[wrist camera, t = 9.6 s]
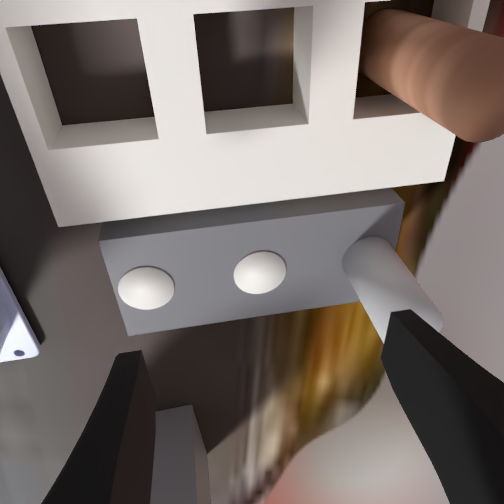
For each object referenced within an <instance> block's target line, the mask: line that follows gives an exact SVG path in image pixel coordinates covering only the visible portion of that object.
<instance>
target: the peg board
mask: <svg viewBox="0 0 504 504" xmlns="http://www.w3.org/2000/svg"><path fill="white" fill-rule="evenodd" d="M375 1H389V0H0V74H1V77H2V79H3V82H4V84H5V87H6V90H7V92H8V95H9V98H10V100H11V103H12V106H13V108H14V111H15V114H16V116H17V119H18V121H19V124H20V127H21V129H22V132H23V135H24V137H25V140H26V143H27V145H28V148H29V151H30V153H31V156H32V158H33V161H34V164H35V166H36V169H37V172H38V174H39V177H40V180H41V182H42V185H43V188H44V190H45V193H46V196H47V198H48V201H49V203H50V206H51V209H52V211H53V214H54V217H55V219H56V222H57V225H58V227H65V226H73V225H82V224H90V223H98V222H107V221H115V220H123V219H132V218H140V217H148V216H157V215H165V214H173V213H182V212H190V211H199V210H207V209H215V208H224V207H232V206H240V205H249V204H257V203H265V202H274V201H282V200H290V199H299V198H307V197H315V196H324V195H332V194H340V193H349V192H357V191H365V190H374V189H382V188H390V187H399V186H407V185H415V184H424V183H432V182H440V181H444V179H445V175H446V171H447V167H448V163H449V159H450V156H451V152H452V148H453V144H454V140H455V136H456V135H455V134H453V133H452V132H450V131H448V130H447V129H445V128H444V127H442V126H441V125H439V124H438V123H436V122H435V121H433V120H432V119H430V118H428V117H427V116H425V115H424V114H422V113H421V112H419V111H418V110H416V109H415V108H413V107H411V106H410V105H408V104H407V103H405V102H404V101H402V100H401V99H399V98H398V97H396V96H394V95H393V94H388V95H378V96H367V97H357V98H355V94H356V85H357V75H358V65H359V55H360V46H361V36H362V26H363V16H364V7H365V2H375ZM489 3H490V0H434V4H433V9H432V14H431V18H433V19H436V20H440V21H444V22H447V23H451V24H455V25H458V26H462V27H466V28H469V29H473V30H477V31H480V32H482V30H483V27H484V23H485V19H486V15H487V11H488V7H489ZM289 7H294V47H293V104H283V105H272V106H262V107H251V108H241V109H230V110H220V111H209V112H204V108H203V99H202V90H201V81H200V72H199V62H198V53H197V44H196V35H195V26H194V17H193V14H204V13H218V12H232V11H246V10H261V9H275V8H289ZM132 18H137V21H138V27H139V32H140V38H141V44H142V49H143V55H144V60H145V66H146V71H147V77H148V82H149V88H150V93H151V99H152V104H153V110H154V115H155V117H146V118H136V119H125V120H115V121H104V122H94V123H83V124H73V125H62V123H61V120H60V117H59V114H58V110H57V107H56V104H55V101H54V98H53V95H52V91H51V88H50V85H49V82H48V79H47V76H46V72H45V69H44V66H43V63H42V60H41V57H40V54H39V50H38V47H37V44H36V41H35V38H34V35H33V31H32V28H31V26H33V25H47V24H61V23H75V22H90V21H104V20H118V19H132Z"/></svg>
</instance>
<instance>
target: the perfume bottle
mask: <svg viewBox="0 0 504 504" xmlns="http://www.w3.org/2000/svg"><path fill="white" fill-rule="evenodd" d="M155 414H156V436H155V450H154V462H153V474H152V487H151V499H150V504H211V498H210V485H209V473H208V460H207V453H206V450H205V446H204V443H203V440H202V436H201V433H200V430H199V427H198V423H197V420H196V417H195V413H194V410H193V407H192V404H191V405H186V406H181V407H176V408H171V409H166V410H161V411H156V412H155Z"/></svg>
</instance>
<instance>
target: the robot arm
mask: <svg viewBox="0 0 504 504" xmlns="http://www.w3.org/2000/svg"><path fill="white" fill-rule="evenodd" d="M40 348H41V347H40V344H39V342H38V340H37V338H36V336H35V334H34V332H33V330H32V328H31V326H30V324H29V322H28V320H27V318H26V317H25V315H24V313H23V311H22V309H21V307H20V305H19V303H18V301H17V299H16V297H15V295H14V293H13V291H12V289H11V287H10V285H9V283H8V281H7V279H6V277H5V275H4V274H3V272H2V270H1V268H0V362H4V361H10V360H17V359H24V358H30V357H35V356H37V355H38V354H39V352H40ZM20 350H22V351H20ZM381 359H382V362H383V365H384V368H385V370H386V373H387V376H388V378H389V380H390V383H391V386H392V388H393V390H394V392H395V394H396V396H397V398H398V400H399V402H400V404H401V406H402V408H403V410H404V412H405V413H406V415H407V417H408V419H409V421H410V423H411V425H412V427H413V428H414V430H415V432H416V434H417V436H418V438H419V440H420V441H421V443H422V445H423V447H424V449H425V451H426V453H427V455H428V456H429V458H430V460H431V462H432V464H433V466H434V468H435V470H436V472H437V474H438V476H439V479H440V481H441V483H442V486H443V488H444V490H445V493H446V495H447V498H448V500H449V502H450V504H504V383H503V382H502V381H500V380H499V379H498V378H496V377H495V376H493V375H492V374H491V373H489V372H488V371H487V370H485V369H484V368H482V367H481V366H480V365H478V364H477V363H476V362H475V361H474V360H472V359H471V358H469V357H468V356H467V355H466V354H465V353H463V352H462V351H461V350H460V349H458V348H457V347H456V346H455V345H453V344H452V343H451V342H450V341H449V340H447V339H446V338H445V337H444V336H442V335H441V334H440V333H439V332H438V331H436V330H435V329H434V328H433V327H432V326H431V325H429V324H428V323H427V322H426V321H425V320H423V319H422V318H421V317H420V316H419V315H417V314H416V313H415V312H414V311H412V310H411V309H407V310H401V311H394V312H391V314H390V318H389V323H388V327H387V332H386V337H385V341H384V346H383V350H382V355H381ZM155 436H156V414H155V394H154V390H153V387H152V384H151V380H150V377H149V374H148V370H147V367H146V364H145V360H144V357H143V354H142V350H139V351H133V352H126V353H120V354H118V355H117V356H116V357H115V360H114V363H113V366H112V368H111V371H110V373H109V376H108V378H107V381H106V383H105V386H104V388H103V390H102V392H101V395H100V397H99V399H98V401H97V404H96V406H95V408H94V410H93V412H92V414H91V416H90V418H89V420H88V422H87V424H86V426H85V428H84V430H83V432H82V434H81V436H80V438H79V440H78V442H77V444H76V445H75V447H74V449H73V451H72V453H71V455H70V456H69V458H68V460H67V462H66V464H65V466H64V467H63V469H62V471H61V472H60V474H59V476H58V478H57V479H56V481H55V483H54V484H53V486H52V488H51V489H50V491H49V492H48V494H47V496H46V497H45V499H44V500H43V502H42V503H41V504H150V499H151V487H152V474H153V462H154V450H155Z"/></svg>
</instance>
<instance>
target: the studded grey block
mask: <svg viewBox="0 0 504 504" xmlns="http://www.w3.org/2000/svg"><path fill="white" fill-rule="evenodd" d="M404 206H405V202H404V201H403V200H402V199H401V198H400V197H399V196H398V194H397V193H396V192H395V191H394V190H393V189H392V188H387V189H379V190H371V191H362V192H354V193H346V194H337V195H329V196H321V197H312V198H304V199H296V200H287V201H279V202H271V203H262V204H254V205H246V206H237V207H229V208H221V209H212V210H204V211H196V212H187V213H179V214H171V215H162V216H154V217H146V218H137V219H129V220H121V221H112V222H104V223H102V227H101V231H100V235H99V240H98V242H99V245H100V248H101V251H102V255H103V258H104V261H105V264H106V267H107V270H108V273H109V277H110V280H111V283H112V286H113V289H114V292H115V295H116V299H117V302H118V305H119V308H120V311H121V314H122V317H123V321H124V324H125V327H126V330H127V333H128V336H131V335H138V334H144V333H151V332H158V331H165V330H171V329H178V328H185V327H191V326H198V325H205V324H212V323H218V322H225V321H232V320H238V319H245V318H252V317H259V316H265V315H272V314H279V313H285V312H292V311H299V310H306V309H312V308H319V307H326V306H332V305H339V304H346V303H353V302H359V301H361V303H362V305H363V306H364V308H365V310H366V312H367V314H368V316H369V317H370V319H371V321H372V323H373V325H374V327H375V328H376V330H377V332H378V334H379V336H380V338H381V339H382V341H383V343H384V341H385V337H386V332H387V327H388V323H389V318H390V314H391V312H394V311H401V310H407V309H411V310H412V311H414V312H415V313H416V314H417V315H419V316H420V317H421V318H422V319H423V320H425V321H426V322H427V323H428V324H429V325H431V326H432V327H433V328H434V329H435V330H436V331H438V332H440V330H441V328H442V326H443V316H442V314H441V312H440V311H439V310H438V308H437V307H436V306H435V304H434V303H433V302H432V301H431V299H430V298H429V296H428V295H427V294H426V293H425V291H424V290H423V288H422V287H421V286H420V284H419V283H418V282H417V280H416V279H415V278H414V276H413V275H412V274H411V272H410V271H409V269H408V268H407V267H406V265H405V264H404V263H403V261H402V260H401V259H400V257H399V256H398V255H397V253H396V252H395V251H396V246H397V241H398V236H399V231H400V226H401V221H402V216H403V211H404Z"/></svg>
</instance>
